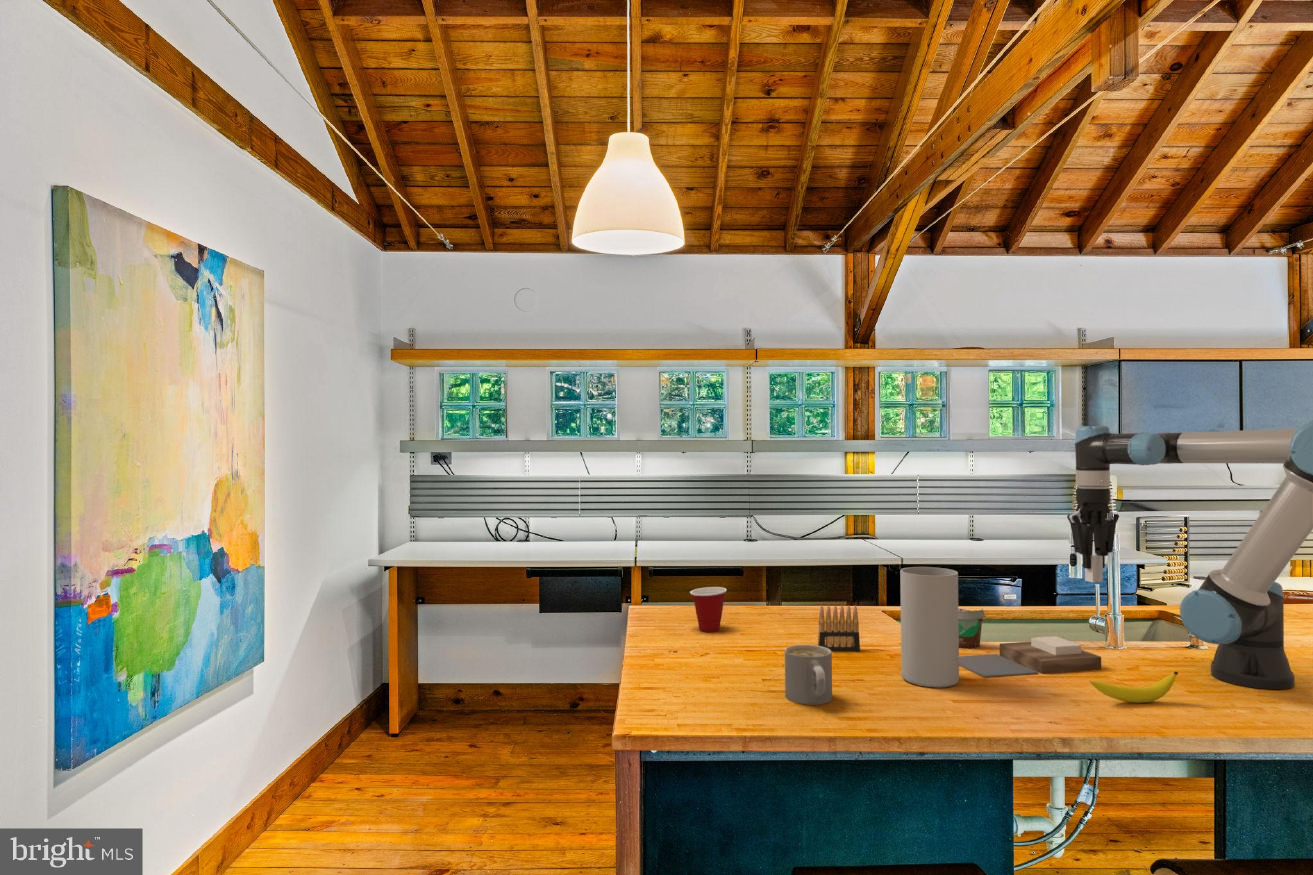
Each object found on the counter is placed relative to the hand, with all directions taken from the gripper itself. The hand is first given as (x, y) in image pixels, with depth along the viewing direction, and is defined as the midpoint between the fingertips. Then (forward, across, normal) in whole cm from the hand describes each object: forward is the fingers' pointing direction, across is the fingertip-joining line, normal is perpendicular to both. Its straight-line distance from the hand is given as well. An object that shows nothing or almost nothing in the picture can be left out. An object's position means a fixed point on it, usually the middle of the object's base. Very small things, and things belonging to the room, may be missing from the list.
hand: (1094, 581), depth 193 cm
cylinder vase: (+20, +49, +7) cm, 53 cm away
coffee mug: (+20, +81, +14) cm, 85 cm away
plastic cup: (+20, +87, -50) cm, 102 cm away
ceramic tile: (+16, +11, 0) cm, 20 cm away
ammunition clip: (+20, +59, -21) cm, 66 cm away
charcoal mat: (+19, +29, 0) cm, 35 cm away
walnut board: (+19, +13, 0) cm, 23 cm away
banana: (+20, +16, +30) cm, 39 cm away
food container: (+20, +26, -18) cm, 37 cm away
